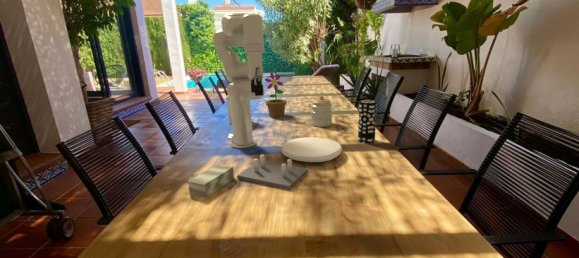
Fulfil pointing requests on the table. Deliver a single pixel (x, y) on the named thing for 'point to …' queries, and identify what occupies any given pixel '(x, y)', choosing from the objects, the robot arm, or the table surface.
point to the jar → (321, 112)
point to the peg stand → (273, 173)
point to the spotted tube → (367, 121)
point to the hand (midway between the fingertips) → (257, 93)
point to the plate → (311, 149)
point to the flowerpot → (275, 105)
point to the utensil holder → (230, 108)
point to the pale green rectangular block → (210, 180)
